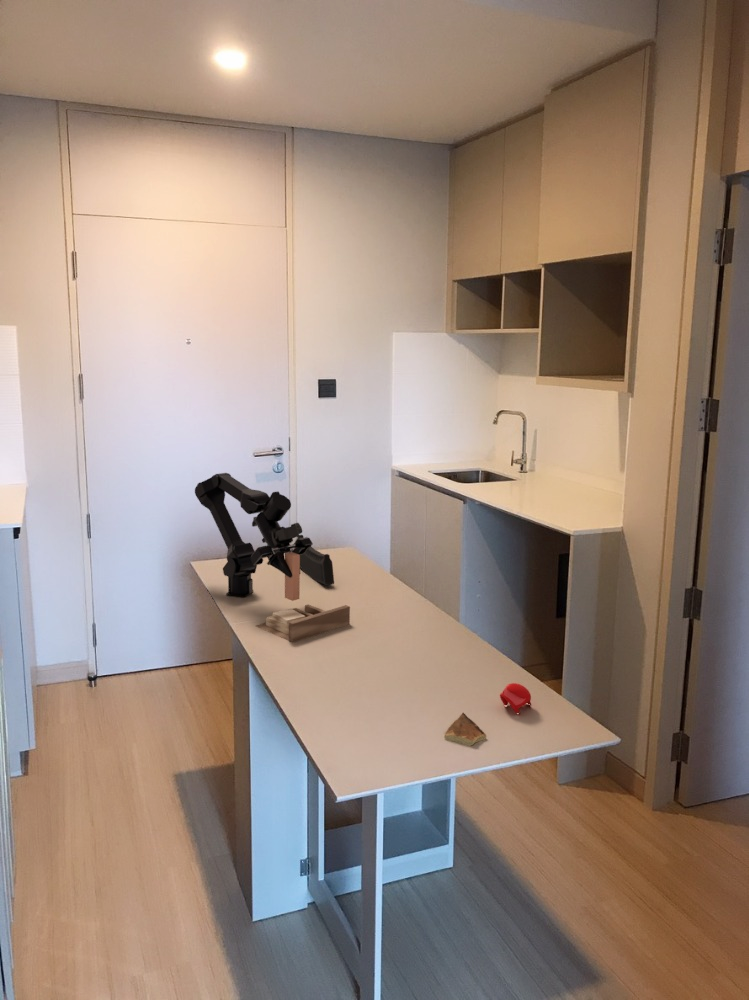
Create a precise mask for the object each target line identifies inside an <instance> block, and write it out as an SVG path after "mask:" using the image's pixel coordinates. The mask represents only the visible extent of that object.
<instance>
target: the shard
mask: <svg viewBox="0 0 749 1000" xmlns="http://www.w3.org/2000/svg"><path fill="white" fill-rule="evenodd" d="M486 738H487V734H486V733H485V732H484V731H483V729H481V728H480V727H479V726H478V725H477V724H476V723H475V722H474V721H473V720H472V719H470V718H469V716H468V715H466V713H464V712H462V713H461V714H460V715H459V717H458V718H457V719H456V720H454V722H453V723H452V724H451V725H450V726H449V727H448V728H447V730H446V732H445V733H444V739H445V740H447V741H451V742H456V743H460V744H463V745H467V746H469V747H471V746H472V745H474V744H475V743H477V742H480V741H484V740H485V739H486Z"/></svg>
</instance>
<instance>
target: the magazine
mask: <svg viewBox="0 0 749 1000" xmlns="http://www.w3.org/2000/svg"><path fill="white" fill-rule="evenodd" d="M300 538H305V537H304V535H303V534H299V537H296V539H295V542H296V541H297V539H300ZM295 542H294V543H295ZM300 570H302V571H303V573H304V574H306V575H307V576H308V577H309V578H311V579H313V580H314V581H315V582H317V583H320V584H323V585H325V586H332V585H334V584H335V577H334V576H335V575H334V567H333V561H332V559H331V557H330V554H328V553H326V554H325V553H322V552H320V551H318V550H317V549H315V548H314V547H313V546H311V547H310V548H309V549H308V550H307V551H306V553H304V554H303V555H300Z"/></svg>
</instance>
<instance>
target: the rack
mask: <svg viewBox="0 0 749 1000" xmlns="http://www.w3.org/2000/svg"><path fill="white" fill-rule="evenodd" d="M350 609H351V607H350V605H346V604H345V605H342V606H339V607H335V608H330V609H329V610H324V609H321V608H319V607H316V606H314V605H310V604H305V605H304V610H302V609H300V608H297V607H294V608H289V609H288V608H286V609H283V610H279V611H274V612H272V615H269V616H266V620H265V622H264V623H260V624H256V625H255V627H257V628H259V629H262V630H264V631H266V632H268V633H270V634H272V635H274V636H278V637H279V638H282V639H284V640H286V641H288V642H291V643H296V642H299V641H301V640H305V639H308V638H311V637H314V636H317V635H321V634H323V633H327V632H330V631H333V630H336V629H338V628H342V627H345V626H348V625H350V620H351V619H350V618H351V616H350V615H351V613H350V611H351V610H350Z"/></svg>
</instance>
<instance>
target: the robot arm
mask: <svg viewBox="0 0 749 1000" xmlns="http://www.w3.org/2000/svg"><path fill="white" fill-rule="evenodd" d="M194 494H195V496H196V498H197V500H198V501H199V503H200V504H201V506H203V507H204V508H207V510H209V513H210V515H211V516H212V518H213V520H214V522H215V525H216V527H217V528H218V531H219V533H220V535H221V537H222V539H223V541H224V543H225V546H226V548H227V553H226V561H227V562H226V563H225V564H224V566H223V567H222V572H223V576H225V577H227V579H228V582H227V583H228V586H227V589H228V591H227V592H226V593H225V594H226V596H229V597H231V596H232V597H240V598H246V597H248V596H249V595H250V594H252V593H253V592H254V589H253V587H254V586H253V585H254V584H253V581H254V580H253V578H252V574H256V571H257V567H258V566H259V565H262V564H263V563H264V559H265V558H267V560H268V561H267V562H266V564H267V566H272V567H274V568H275V569H277V570H278V571H279V572H281V573H283V574H284V576H285V575H287V576H288V577H289V578H291V577H292V573H291V570H290V568H289V567H288V565H287V563H286V561H285V554H286V553H290V552H293V553H296V554H299V555H303V554H304V553H306V551H307V550H308V549H309V548H310V547H313V544H314V543H313V542H312V540H311V538H310V537H307V536H306V537H304V538H300V539H297V537H299V535H301V534H302V533H303V528H302V525H301V524H300V523H299V522H296V523H295V522H294V523H291V524H290V526H288V527H285V526H281V525H280V523H279V522H280V521H281V520H282V519H283V518H284V517H285V516H286V514H287V513H288V512H289V510H290V509H291V507H292V502H291V500H290V499H289V498H288V497H287V496H285V495H284V494H280V492H279V491H273V492H272V493H271V494H270V496H269V495H268V493H267V492H265V491H262V490H257V489H252V488H249V487H248V486H247V485H245V484H244V483H242V482H241V481H239V480H238V479H236V478H234V477H233V476H232V475H231V474H230V473H227V472H221V473H220V472H219V473H215V474H214V475H212V476H211V477H210V478H207V479H205V480H202V481H200V482H198V483H197V485H196V486H195V488H194ZM226 494H228V495H229V496H231V498H233V499H235V500H236V501H238V502H239V504H240V508H241V509H242V510H243V511H244V512H245V513H246V514H248V515H255V514H257V516H253V519H252V522H251V526H252V527H257V528H258V531H259V532H260V534H261V535H262V539H261V541H262V543H265V544H266V545H263V546H262V545H261V546H258V547H257V548H256V549H255V548H254V547H253V544H252V543H251V542H247V543H245V542H244V541H243V539H242V537H241V535H240V533H239V531H238V528H237V527H236V524H235V523H234V521H233V518H232V516H231V514H230V511H229V510H228V508H227V506H226V504H225V499H226ZM294 538H296V540H297V541H296V540H295V541H296V542H294V543H293V541H294ZM291 543H293V544H291ZM247 595H248V596H247Z"/></svg>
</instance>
